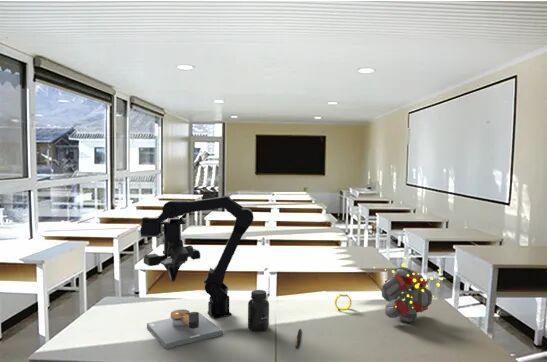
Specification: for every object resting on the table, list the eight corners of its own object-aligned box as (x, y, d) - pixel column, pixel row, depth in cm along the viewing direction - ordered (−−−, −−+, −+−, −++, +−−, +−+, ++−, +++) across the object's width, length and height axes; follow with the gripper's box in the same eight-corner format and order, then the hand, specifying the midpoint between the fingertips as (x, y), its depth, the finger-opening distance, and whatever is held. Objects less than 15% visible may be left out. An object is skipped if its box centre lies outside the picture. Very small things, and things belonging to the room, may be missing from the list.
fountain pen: (298, 329, 136) (298, 325, 136) (302, 330, 136) (302, 325, 136) (294, 350, 122) (294, 344, 122) (298, 350, 122) (298, 345, 122)
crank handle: (167, 315, 137) (167, 303, 137) (184, 311, 141) (184, 299, 140) (186, 330, 125) (186, 317, 125) (205, 325, 129) (205, 312, 129)
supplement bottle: (266, 333, 133) (266, 296, 132) (245, 331, 134) (245, 294, 133) (270, 325, 139) (271, 289, 139) (250, 323, 141) (250, 288, 140)
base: (198, 316, 147) (198, 306, 146) (222, 334, 132) (222, 323, 131) (146, 327, 137) (146, 317, 137) (166, 349, 122) (166, 337, 121)
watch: (349, 308, 156) (350, 292, 156) (351, 311, 153) (352, 295, 153) (333, 307, 156) (334, 291, 155) (335, 310, 153) (336, 294, 152)
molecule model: (413, 341, 127) (415, 267, 126) (357, 321, 143) (358, 255, 142) (453, 321, 144) (455, 255, 143) (398, 304, 159) (400, 245, 158)
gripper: (154, 243, 134) (155, 292, 135) (207, 237, 145) (207, 282, 146) (142, 238, 143) (143, 283, 144) (193, 232, 154) (193, 274, 155)
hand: (172, 281), depth 147 cm, fingers closed
